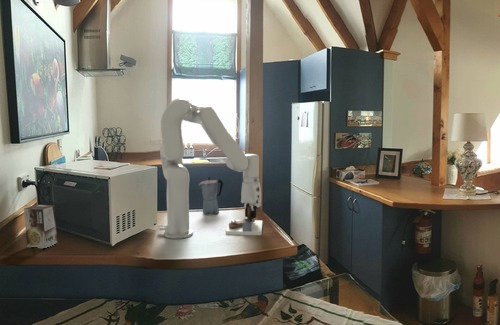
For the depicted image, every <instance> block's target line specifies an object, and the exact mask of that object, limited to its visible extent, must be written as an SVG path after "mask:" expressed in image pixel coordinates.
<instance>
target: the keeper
mask: <svg viewBox="0 0 500 325" xmlns="http://www.w3.org/2000/svg"><path fill="white" fill-rule="evenodd" d="M230 220H231V224H236V220H237V219H230ZM242 220H243V223H242V231H252V219H247V218H243V219H242Z"/></svg>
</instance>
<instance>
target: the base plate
mask: <svg viewBox="0 0 500 325" xmlns="http://www.w3.org/2000/svg"><path fill="white" fill-rule="evenodd" d="M231 220H232V219H230V220H229V222H228V225H227V227H226V230H225V235H238V236H239V235H241V236H262V233H263V232H262V231H263V220H257V219H255V222H253V223H252V231H242V226H239V227H238V228H229V223H231ZM235 220H236V222H237V221H240V220H241V219H235Z"/></svg>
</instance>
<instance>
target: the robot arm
mask: <svg viewBox="0 0 500 325" xmlns="http://www.w3.org/2000/svg"><path fill="white" fill-rule="evenodd" d="M183 121H185V122H189V123H194V124H197V125H200V126H201V127H202V130H204V132H205V134H206V135H207V136H208V138H209V139H210V142H212V144H213V145H214V146H216V148H218V149H219V150H220V151H221V152H222V153H223V154H224V155H225V156H226V158H225V165H226V166H227V168H229V169H231V170H232V171H235V172H238V173H242V183H241V190H240V191H241V192H240V196H241V198H240V203H242V205H243V208H244V217H245V218H247V207H248V206H251V212H250V218H251V219H253V218H254V219H255V218H257V210H258V208H260V207H262V204H261V203H262V188H261V187H262V186H261V184H260V178H259V177H260V176H259V175H260V172H259V171H260V165H259V164H260V157H259V155H258V154H255V153H246V154H245V153H244V151H243V149H242V148H241V146H240V145H239V143H238V142H237V141H236V140H235V139H234V138H233V137H232V135H231V134H230V133H229V132H228V130H227V129H226V126H224V123H223V122H222V120H221V119H220V117H219V116H218V114H217V113H216V111H215V109H213V107H211V106H210V105H199V104H195V103H191V102H190V101H189V100H187V99H186V98H183V97H180V98H176V99H173V100H171V101H170V102H169V103H168V105H167V107H166V108H165V109H164V111H163V113H162V114H161V120H160V131H161V141H162V142H161V144H160V146H159V147H160V148H159V152H160V153H159V154H160V155H159V156H160V162H161V167H162V173H163V177H164V179H165V180H166V215H167V216H166V217H167V218H166V219H167V221H166V222H167V223H166V224H158V230H159V231H164V232H163V236H164V237H165V238H167V239H173V240H174V239H176V240H177V239H186V238H189V237H191V236H193V234H194V231H193V229H191V228H190V202H189V201H190V198H189V196H190V194H189V193H190V192H189V190H190V172H189V170H188V168H187V167H186V166H185V165H184V163H183V158H184V157H185V156H184V154H185V146H184V140H183V134H182V124H183Z"/></svg>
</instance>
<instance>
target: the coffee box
mask: <svg viewBox="0 0 500 325" xmlns="http://www.w3.org/2000/svg"><path fill="white" fill-rule="evenodd" d="M23 215H24V225H25V227H24V228H25V235H26V245H27V246H26V247H27V248H31V247H38V248H37V249H43V248H47V247H49V248H51V247H53V246H55V245H54V244H56V243H57V244H58V237H57V223H56V222H57V221H56V207H55V205H50V204H49V205H47V204H34V205H31V206H28V207H27V206H26V207H25V208H23ZM57 244H56V245H57ZM52 245H53V246H52ZM50 246H51V247H50ZM47 249H48V248H47Z"/></svg>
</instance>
